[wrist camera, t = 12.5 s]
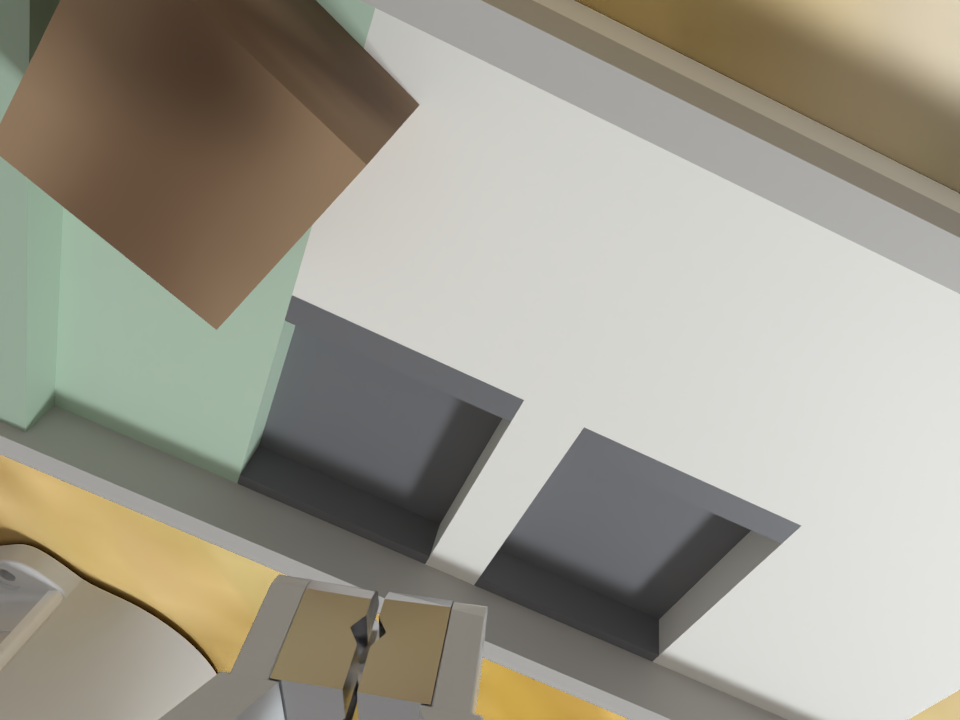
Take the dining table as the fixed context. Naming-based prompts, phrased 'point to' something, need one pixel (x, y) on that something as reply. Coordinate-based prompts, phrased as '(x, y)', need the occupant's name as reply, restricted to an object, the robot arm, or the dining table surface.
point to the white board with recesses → (610, 382)
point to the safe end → (129, 313)
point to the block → (199, 132)
